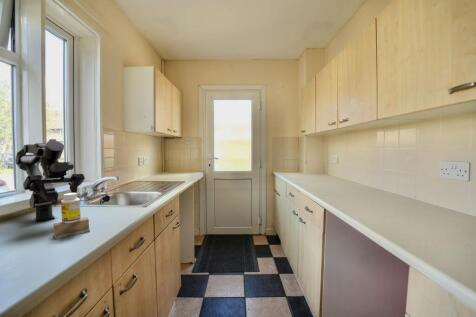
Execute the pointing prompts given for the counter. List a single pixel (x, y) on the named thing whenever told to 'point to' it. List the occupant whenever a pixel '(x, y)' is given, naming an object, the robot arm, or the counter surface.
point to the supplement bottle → (70, 208)
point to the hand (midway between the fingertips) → (62, 198)
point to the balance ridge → (71, 228)
